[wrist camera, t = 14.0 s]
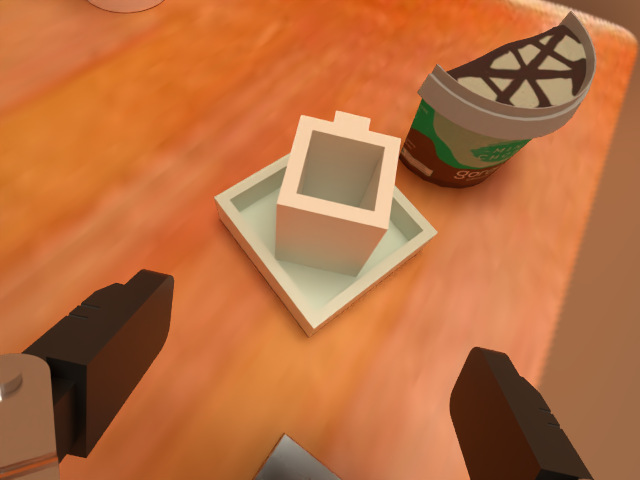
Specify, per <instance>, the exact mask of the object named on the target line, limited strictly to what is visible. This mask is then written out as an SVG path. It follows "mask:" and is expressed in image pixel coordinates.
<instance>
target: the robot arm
mask: <svg viewBox="0 0 640 480" xmlns="http://www.w3.org/2000/svg"><path fill="white" fill-rule="evenodd" d="M173 289H174V278H173V276H171V275H167V274H163V273H158V272H154V271H150V270H145V269H142V270H140V271H139V272H138V273H137V274H136V275H135V276H134V277H133V278H132V279H130V280H129V281H128V282H127V283H126V284H125V285H123V284H119V283H115V284H112V285H110V286H107V287H105V288H102V289H100V290H97V291H95V292H94V293H93V294H92V295H90V296H89V297H88V298H87V299H86V300H84V301H83V302H82V303H81V306H79V305H78V306H77V307H76V308H75V309H74V310H72V311H71V312H70V313H69V316H65V317H64V318H63V319H62V320H60V321H59V322H58V323H57V324H56V325H54V326H53V327H52V328H51V329H50V330H48V331H47V332H46V333H45V334H44V335H42V336H41V337H40V338H39V339H38V340H37V341H35V342H34V343H33V344H32V345H31V346H29V347H28V348H27V349H26V350H25V351H23V352H22V353H21V354H19V353H18V354H4V355H0V480H60V474H59V463H60V462H61V461H62V459H63V458H64V457H65V455H66V454H69V455H74V456H79V457H83V458H87V456H88V455H89V453H90V452H91V451H92V449H93V448H94V446H95V445H96V443H97V442H98V440H99V439H100V438H101V436H102V435H103V433H104V432H105V430H106V429H107V427H108V426H109V425H110V423H111V422H112V420H113V419H114V417H115V416H116V414H117V413H118V412H119V410H120V409H121V407H122V406H123V404H124V403H125V401H126V400H127V399H128V397H129V396H130V394H131V393H132V391H133V390H134V388H135V387H136V385H137V384H138V383H139V381H140V380H141V378H142V377H143V375H144V374H145V372H146V371H147V370H148V368H149V367H150V365H151V364H152V362H153V361H154V359H155V358H156V357H157V355H158V354H159V352H160V351H161V349H162V347H163V346H164V343H165V341H166V338H167V335H168V332H169V327H170V319H171V309H172V299H173ZM550 412H551V411H550V409H549V407H548V406H547V404H546V402H545V401H544V399H543V397H542V396H541V394H540V393H539V392H538V391H537V390H536V389H535V388H534V387H533V386H532V385H531V384H530V383H529V382H528V381H527V380H526V379H525V378H524V377H521V376H519V374H518V372H517V370H516V369H515V367H514V365H513V364H512V362H511V360H510V359H509V357H508V356H507V355H506V354H505V353H502V352H498V351H493V350H489V349H485V348H480V347H474V348H473V349H472V350H471V351H470V353H469V355H468V357H467V359H466V362H465V364H464V366H463V368H462V370H461V373H460V375H459V377H458V379H457V381H456V384H455V386H454V388H453V390H452V393H451V397H450V415H451V419H452V422H453V425H454V428H455V432H456V435H457V438H458V441H459V444H460V448H461V451H462V454H463V457H464V460H465V464H466V467H467V470H468V473H469V476H470V480H594V479H593V478H592V476H591V474H590V473H589V471H588V470H587V468H586V467H585V465H584V463H583V462H582V460H581V458H580V457H579V455H578V454H577V452H576V450H575V449H574V448H573V446H572V444H571V442H570V441H569V439H568V438H567V436H566V434H565V433H564V431H563V430H562V429H560V425H559V423H558V421H557V420H556V418H555V417H554V415H553V414H551V413H550Z"/></svg>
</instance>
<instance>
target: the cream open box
mask: <svg viewBox="0 0 640 480" xmlns="http://www.w3.org/2000/svg"><path fill="white" fill-rule="evenodd" d="M370 120H371V119H370V118H366V117H361V116H357V115H353V114H349V113H345V112H341V111H336V114H335V118H334V122H329V121H325V120H321V119H317V118H313V117H308V116H304V115H301V117H300V121H299V125H298V128H297V132H296V135H295V139H294V143H293V146H292V150H291V153H290V157H289V161H288V164H287V168H286V172H285V175H284V179H283V182H282V186H281V190H280V193H279V197H278V200H277V208H276V244H275V259H278V260H283V261H287V262H292V263H296V264H300V265H305V266H309V267H314V268H318V269H322V270H327V271H331V272H335V273H340V274H344V275H349V276H353V277H357V275H358V274H359V272H360V271H361V269H362V268H363V266H364V265H365V263H366V262H367V260H368V259H369V257H370V256H371V254H372V253H373V251H374V250H375V248H376V247H377V245H378V244H379V242H380V241H381V239H382V238H383V236H384V235H385V233H386V232H387V230H388V225H389V219H390V212H391V205H392V198H393V191H394V184H395V177H396V170H397V163H398V156H399V150H400V143H401V138H396V137H392V136H388V135H384V134H380V133H375V132H371V131H368V130H369V125H370Z"/></svg>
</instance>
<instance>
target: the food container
mask: <svg viewBox="0 0 640 480" xmlns="http://www.w3.org/2000/svg"><path fill="white" fill-rule="evenodd" d="M595 71H596V54H595V48H594V45H593V42H592V39H591V38H590V36H589V34H588V32H587V30H586V28H585V27H584V26H583V24H582V23H581V21H580V20H579V19H578V18H577V17H576V16H575V14H574V13H573V12H572V11H570V12H569V13H568V15H567V16H566V17H565V18H564V20H563V21H562V22H561V23H560V24H559V26H557V27H553V28H552V29H550V30H548V31H546V32H544V33H541V34H539V35H536V36H534V37H531V38H527V39H523V40H519V41H515V42H512V43H508V44H505V45H503V46H501V47H499V48H497V49H495V50H493V51H491V52H489V53H488V54H486V55H484V56H482V57H480V58H478V59H476V60H474V61H472V62H469V63H467V64H464V65H462V66H460V67H457V68H455V69H452V70H450V71H447V72H445V70H444V69H443V68H442V67H441V66H440V65H439V64H436V66H435V68H434V70H433V72H432V73H430V74H429V75H428V77H427V78H426V80H425V81H424V83H423V84H422V86H421V88H420V89H419V91H418V92H417V93H418V94H419V95H420V96H421V97H422V100H421V103H420V105H419V108H418V110H417V113H416V115H415V118H414V120H413V123H412V125H411V128H410V130H409V133H408V135H407V138H406V140H405V143H404V146H403V148H402V151H401V153H400V156H399V159H400V160H401V161H402V162H403V163H404V165H405V166H406V167H407V168H408V169H409V170H411V171H412V172H414V173H415V174H416V175H418V176H419V177H421V178H422V179H423V180H426V181H428V182H431V183H434V184H436V185H439V186H441V187H451V188H464V187H470V186H474V185H476V184H479V183H480V182H482V181H484V180H485V179H486V178H488V177H489V176H490V175H491V174H492V173H493V172H495V171H496V170H497V169H498V168H499V167H500V166H501V165H503V164H504V163H505V162H506V161H507V160H508V159H510V158H511V157H512V156H513V155H514V154H515V153H517V152H518V151H519V150H520V149H521V148H522V147H524V146H525V145H526V144H527V143H528V142H529V141H530V140H532V139H533V138H537V137H542V136H545V135H547V134H550V133H552V132H554V131H556V130H558V129H559V128H561V127H562V126H564V125H565V124H566V123H567V122H568V121H569V120H570V119H571V118H572V116H573V115H574V113H575V112H576V110H577V108H578V107H579V105H580V104H581V102H582V101H583V99H584V98H585V96H586V94H587V93H588V91H589V89H590V86H591V82H592V80H593V77H594V74H595Z"/></svg>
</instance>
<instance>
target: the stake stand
mask: <svg viewBox="0 0 640 480" xmlns="http://www.w3.org/2000/svg"><path fill="white" fill-rule="evenodd" d="M252 480H342V479H341V478H340V477H339V476H337V475H336V474H335V473H334V472H332V471H331V470H330V469H329V468H327V467H326V466H325V465H324V464H322V463H321V462H320V461H319V460H318V459H316V458H315V457H314V456H313V455H311V454H310V453H309V452H308V451H306V450H305V449H304V448H303V447H301V446H300V445H299V444H298V443H297V442H295V441H294V440H293V439H292V438H290V437H289V436H288V435H287V434H285V433H284V434H283V435H282V437H281V438H280V440H279V441H278V443H277V444H276V445H275V447H274V448H273V450H272V451H271V453H270V454H269V456H268V457H267V459H266V460H265V462H264V463H263V465H262V466H261V468H260V469H259V470H258V472H257V473H256V475H255V476H254V478H253V479H252Z"/></svg>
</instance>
